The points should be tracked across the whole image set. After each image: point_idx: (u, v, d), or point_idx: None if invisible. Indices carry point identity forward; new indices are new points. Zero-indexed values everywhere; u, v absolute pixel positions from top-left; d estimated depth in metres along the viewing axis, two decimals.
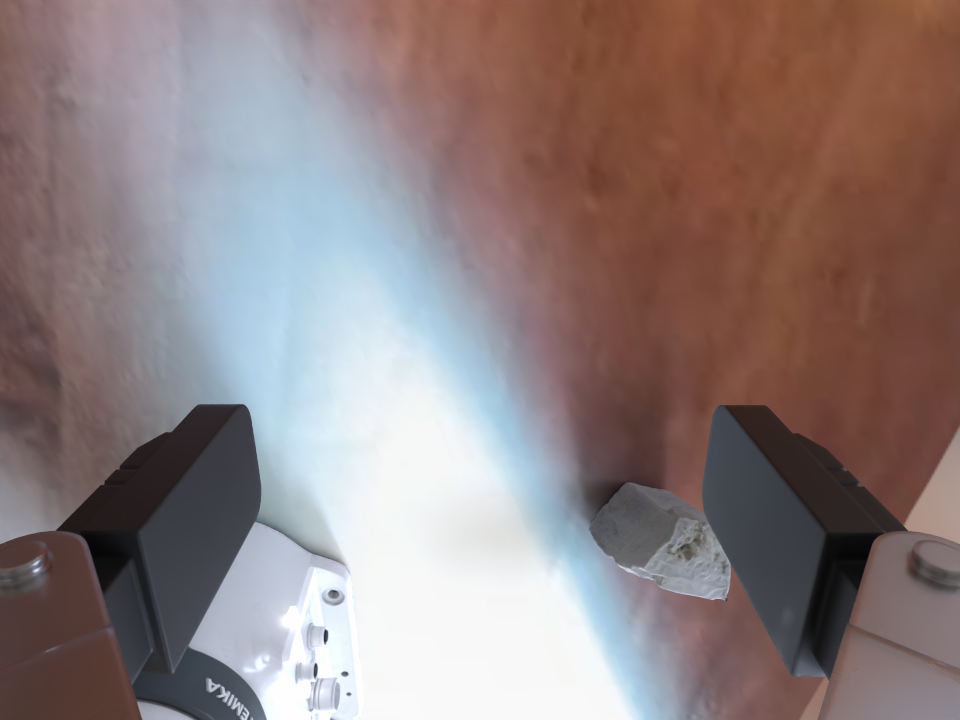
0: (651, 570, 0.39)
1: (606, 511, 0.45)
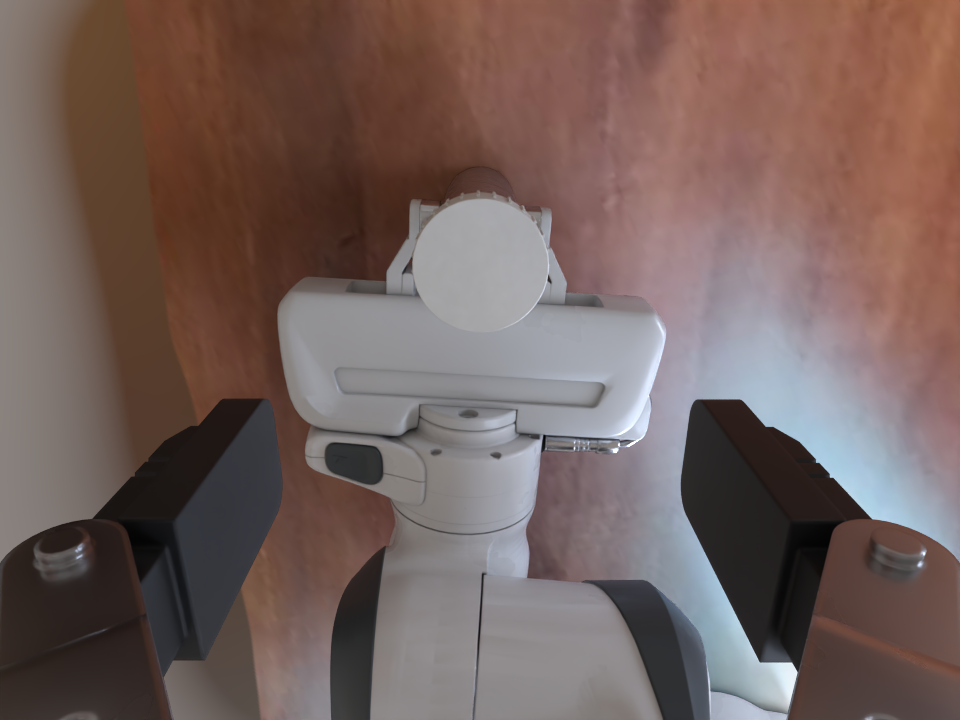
0: None
1: None
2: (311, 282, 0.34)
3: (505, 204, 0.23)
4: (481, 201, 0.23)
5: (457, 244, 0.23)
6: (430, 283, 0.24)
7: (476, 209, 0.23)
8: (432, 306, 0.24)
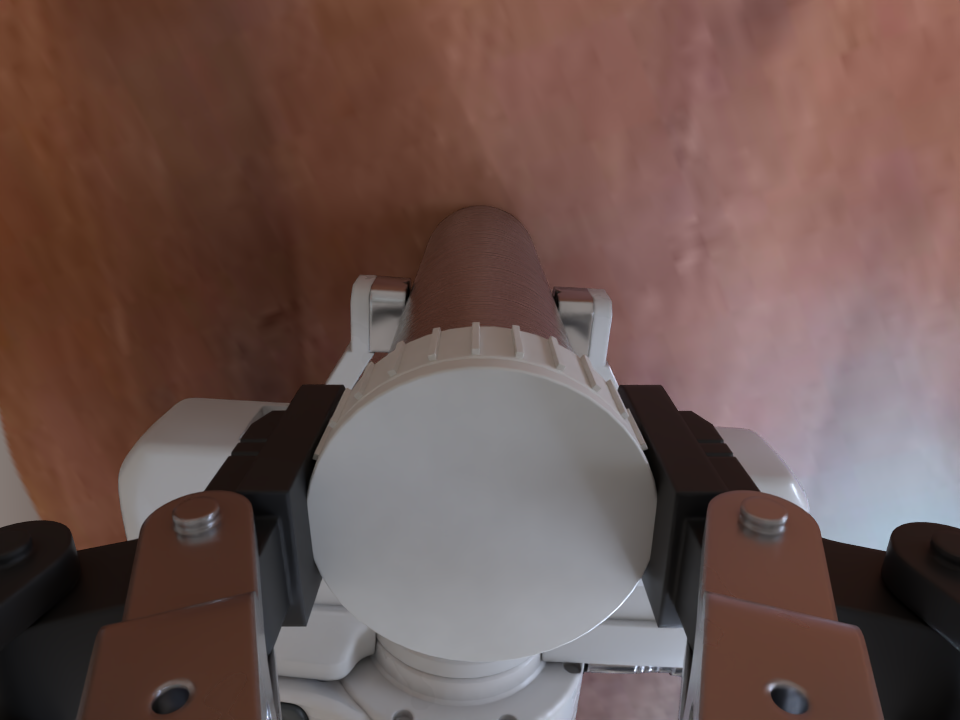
0: None
1: None
2: (187, 415, 0.20)
3: (550, 382, 0.08)
4: (484, 374, 0.08)
5: (421, 476, 0.09)
6: (354, 563, 0.09)
7: (471, 394, 0.08)
8: (362, 610, 0.10)
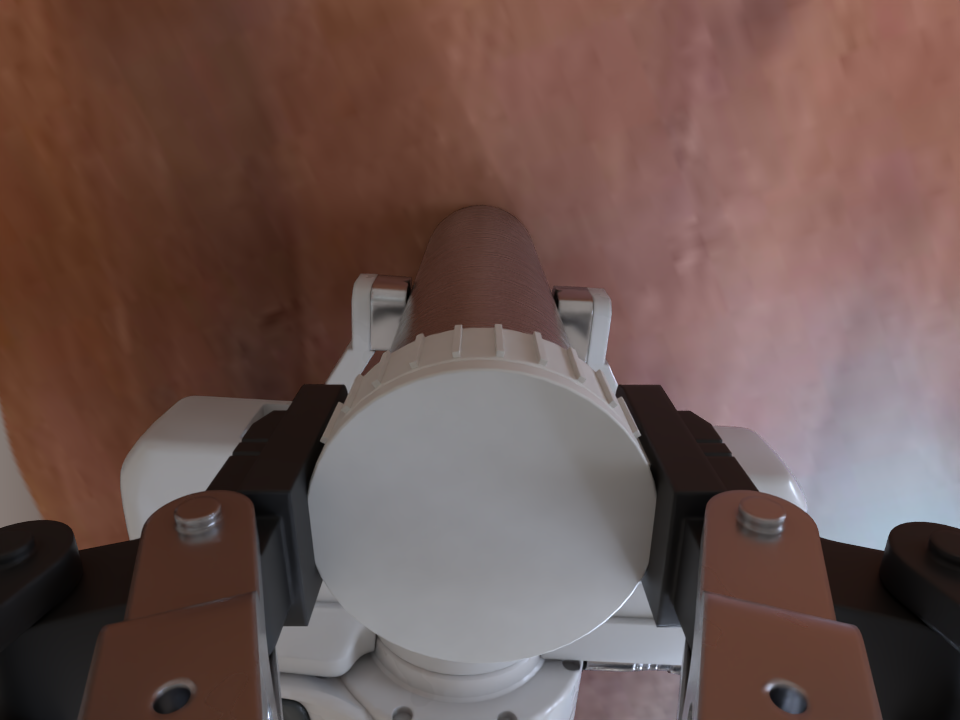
0: None
1: None
2: (189, 412, 0.20)
3: None
4: (330, 580, 0.09)
5: (449, 592, 0.10)
6: (564, 613, 0.10)
7: (352, 584, 0.09)
8: (619, 593, 0.10)
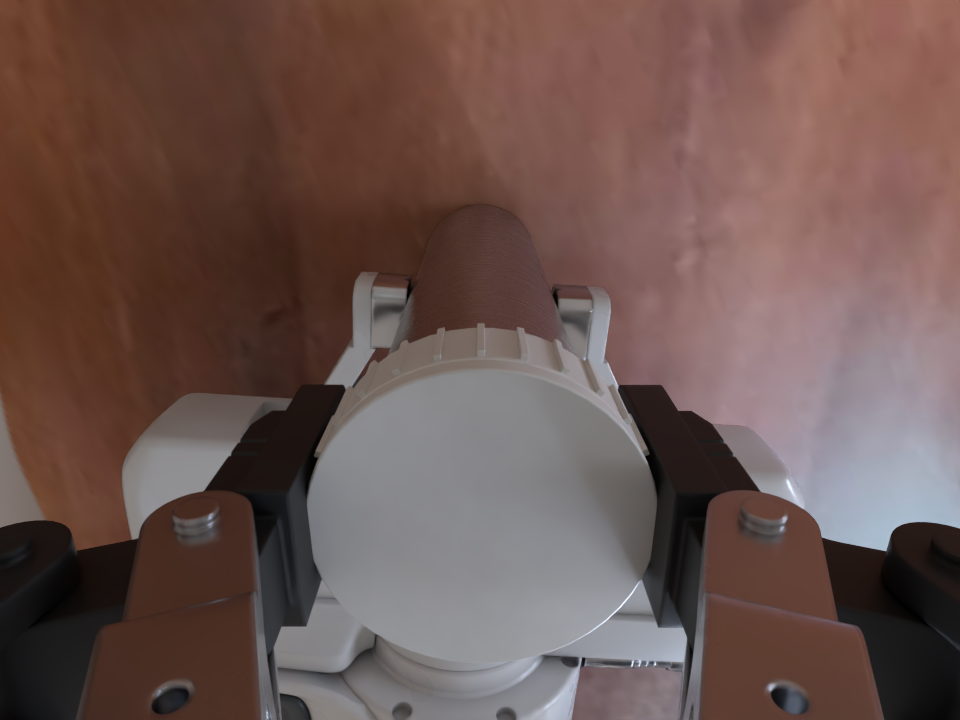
0: None
1: None
2: (190, 409, 0.20)
3: (546, 651, 0.10)
4: (591, 624, 0.10)
5: (566, 532, 0.09)
6: (550, 424, 0.08)
7: (588, 608, 0.10)
8: (500, 382, 0.08)
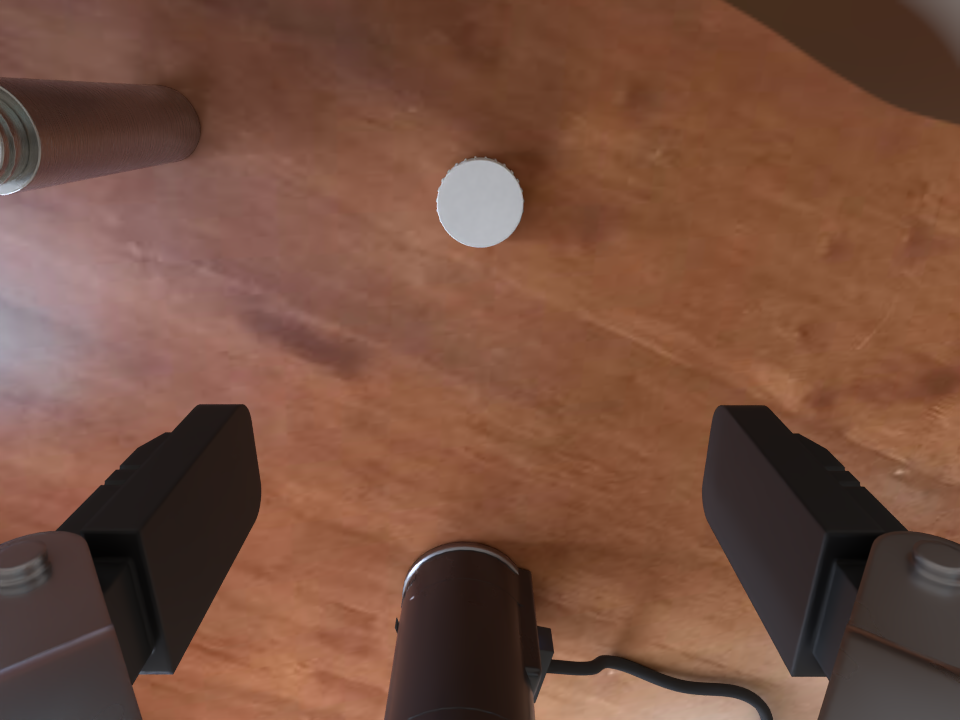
0: None
1: None
2: None
3: (509, 172, 0.37)
4: (496, 165, 0.37)
5: (472, 184, 0.37)
6: (446, 201, 0.37)
7: (492, 168, 0.37)
8: (442, 216, 0.38)
